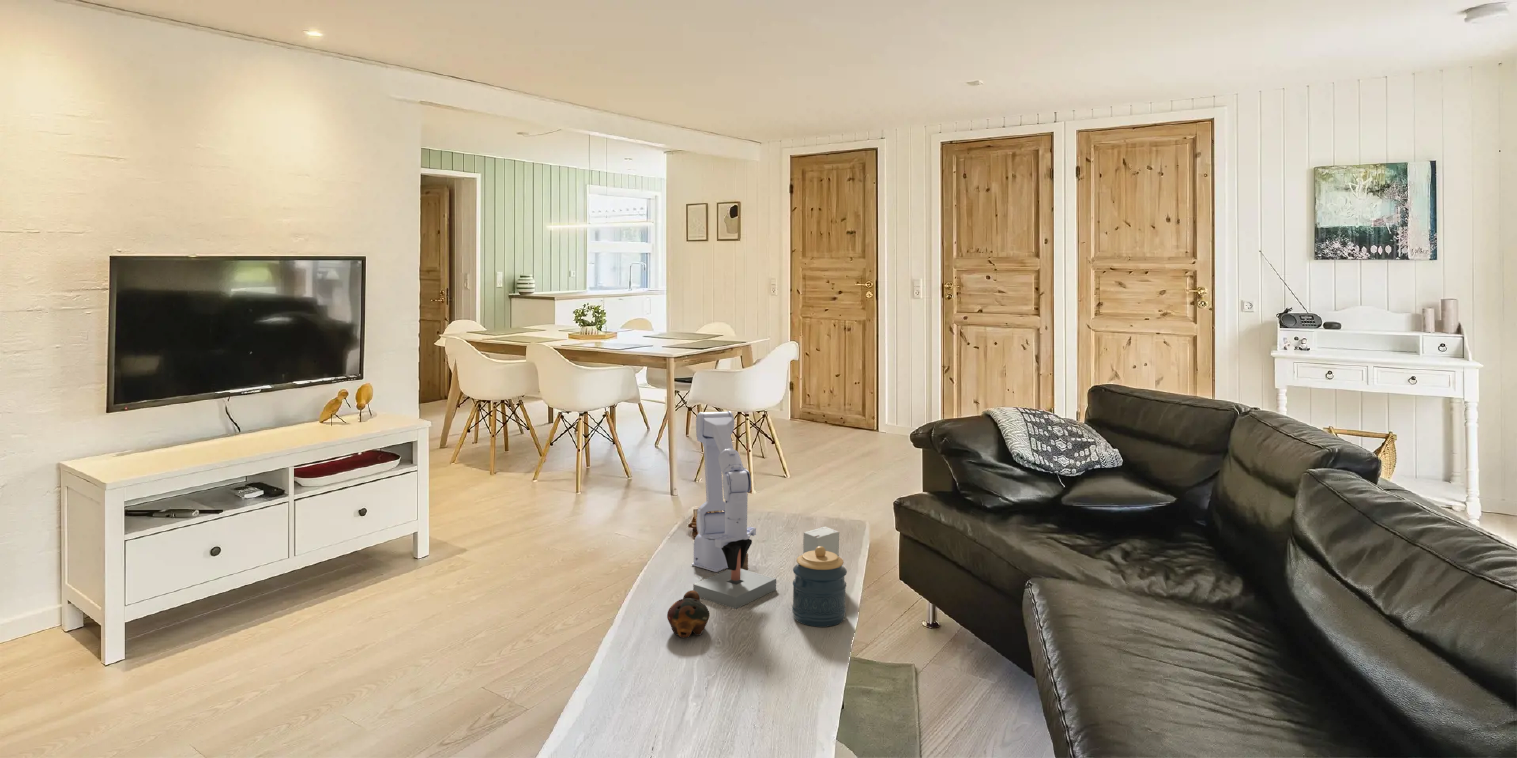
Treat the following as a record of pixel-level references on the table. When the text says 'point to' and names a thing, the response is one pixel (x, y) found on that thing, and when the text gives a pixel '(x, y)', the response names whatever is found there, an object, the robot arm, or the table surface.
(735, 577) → the long pin
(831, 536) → the skincare box
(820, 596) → the canister
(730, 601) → the hole plate
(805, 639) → the table surface
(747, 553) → the short pin
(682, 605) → the decorative turtle
